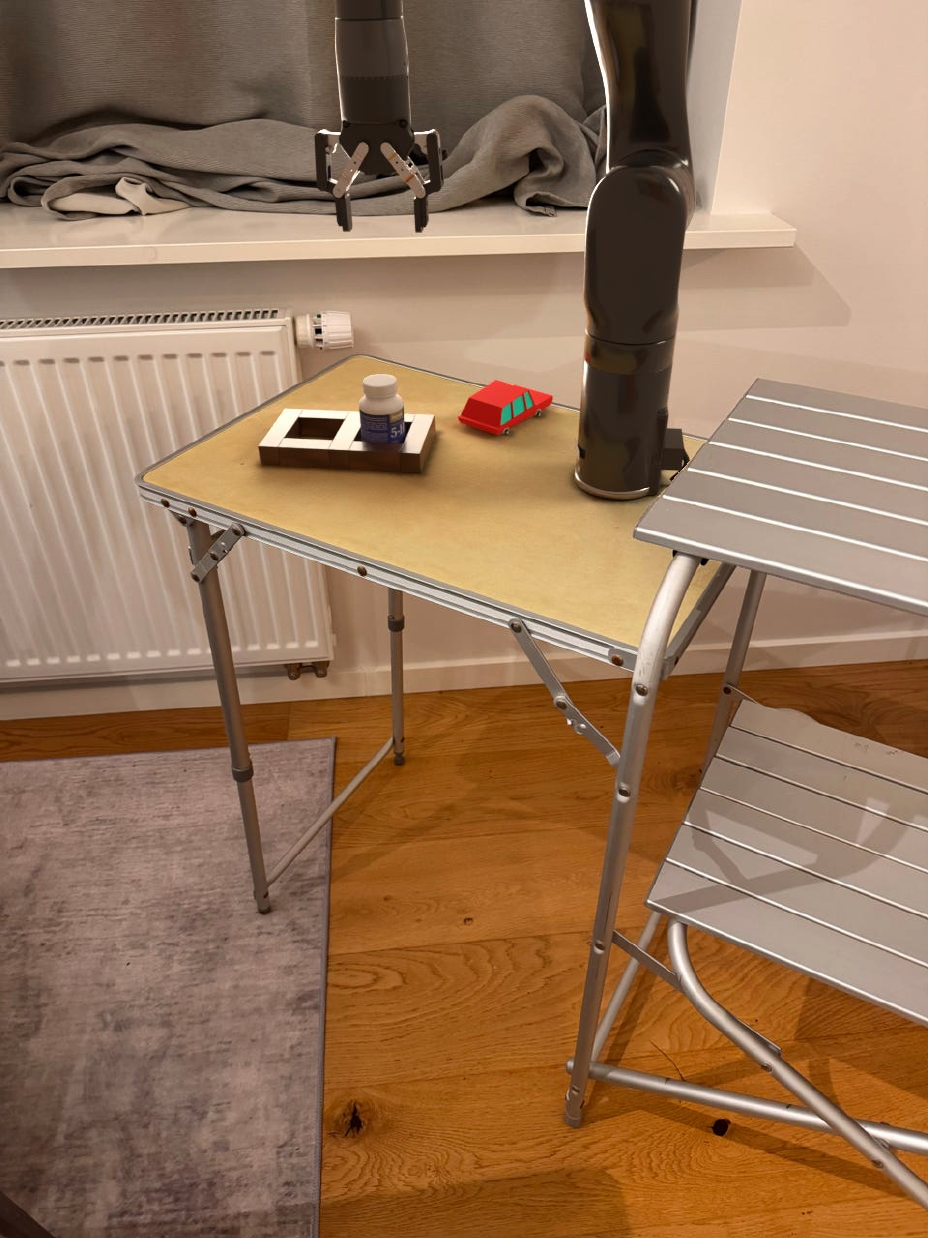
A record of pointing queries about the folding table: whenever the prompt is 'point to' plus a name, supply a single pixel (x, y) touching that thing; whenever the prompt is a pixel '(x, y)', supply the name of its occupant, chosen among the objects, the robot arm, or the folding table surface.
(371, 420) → the pill bottle
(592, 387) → the robot arm
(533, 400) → the toy car
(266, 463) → the peg board
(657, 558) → the folding table surface
